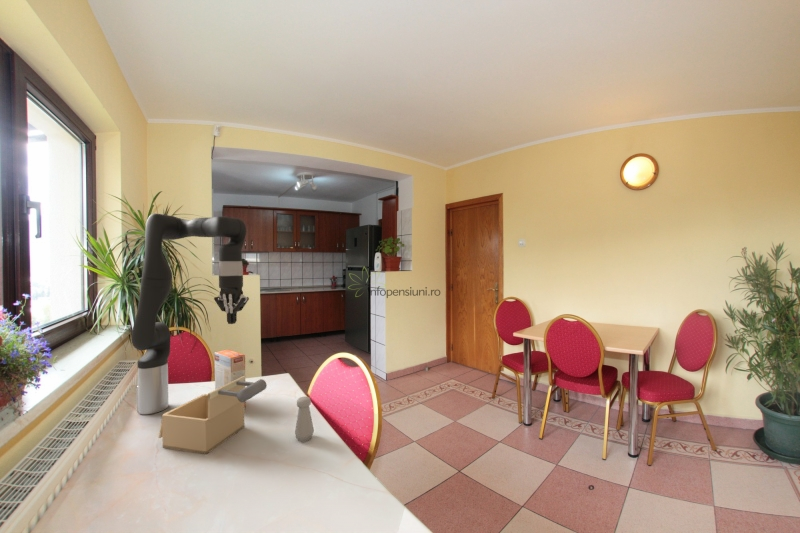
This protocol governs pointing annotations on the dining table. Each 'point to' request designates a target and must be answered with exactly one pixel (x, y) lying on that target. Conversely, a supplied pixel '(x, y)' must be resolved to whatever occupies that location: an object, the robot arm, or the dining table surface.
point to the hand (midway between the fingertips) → (231, 323)
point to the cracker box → (228, 367)
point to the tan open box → (199, 426)
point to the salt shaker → (304, 420)
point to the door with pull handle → (232, 395)
